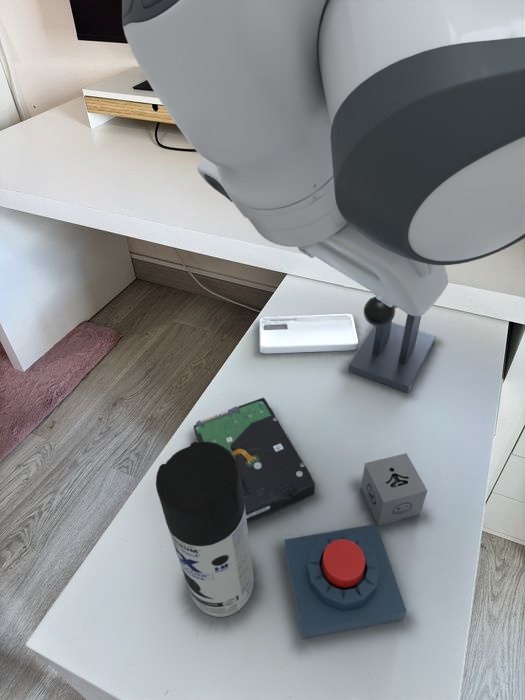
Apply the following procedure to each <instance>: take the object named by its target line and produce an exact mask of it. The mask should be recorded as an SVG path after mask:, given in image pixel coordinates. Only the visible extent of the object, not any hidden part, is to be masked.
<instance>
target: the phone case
mask: <svg viewBox="0 0 525 700" xmlns="http://www.w3.org/2000/svg"><path fill="white" fill-rule="evenodd" d="M281 325H282V326H285V325H286V329H284V328H283V329H265V326H281ZM355 325H356V324H355V320H354V316H353V315H352V314H350V313H340V314H335V313H334V314H313V315H289V316H285V315H284V316H265V317H261V318H260V319H259V352H260V353H261V354H290V353H292V354H293V353H315V352H342V351H344V352H345V351H356V350H357V349H358V348H359V339H358V334H357V330H356V326H355Z"/></svg>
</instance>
